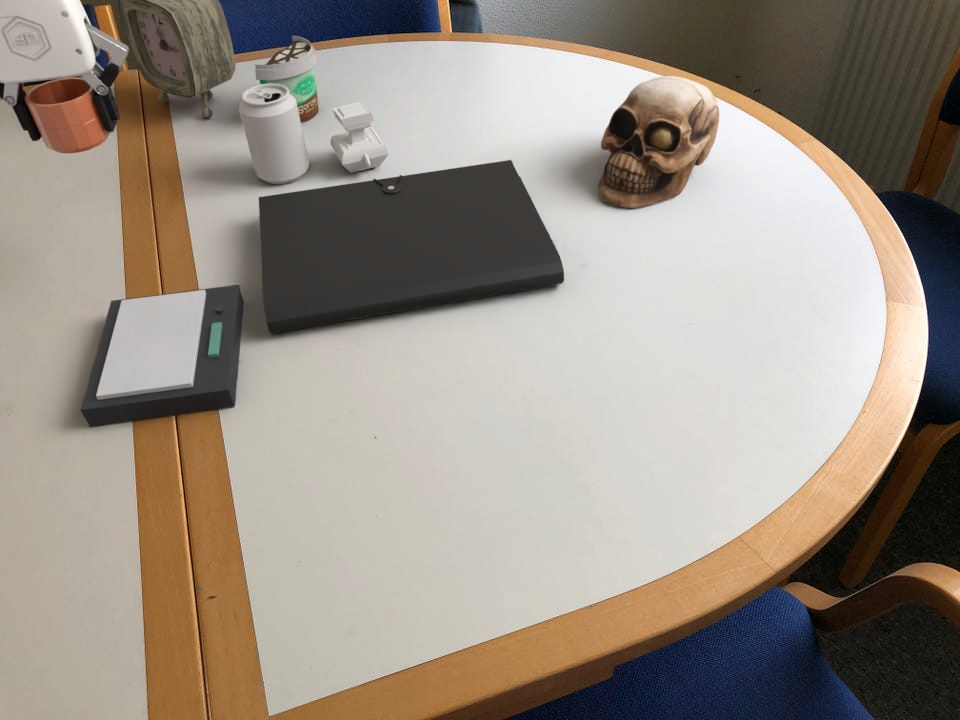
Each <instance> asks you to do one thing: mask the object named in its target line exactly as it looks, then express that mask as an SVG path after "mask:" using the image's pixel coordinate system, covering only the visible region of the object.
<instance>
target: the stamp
mask: <svg viewBox="0 0 960 720" xmlns="http://www.w3.org/2000/svg"><path fill="white" fill-rule="evenodd" d="M332 111H333V115H334V117H335V118H336V120H337V121H338V123H339V124H340V125H341V126H342V128H344V130H345V132H344V133H339V134H334V135H332V136H331V137H330V146H331V148H332V150H333V151H334V153H335V154H336V156H337V158H338V160H339V162H340V163H341V165H342V166H343V167H344V168H345V169H346V170H347V171H349V173H350V174H352V173H356V172H360V171H364V170H369V169H372V168H378V167H381V165H382V164H383V162H384V161H385V160H386V159H387V157H388V156H389V151H388V149H387V147H386V146H385V144H384V143H383V141H382V140H381V138H380V137H379V136H378V134H377V133H376V131H375V130H374V129H373V127H371V126H372V122H373V121H375V120H374V117H373V114H372V112H371V111H370V110H369V109H368V108H367V106H366V105H365V104H364V102H362V101H358V102H353V103H349V104H345V105H341V106H336V107H333V108H332Z"/></svg>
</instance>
